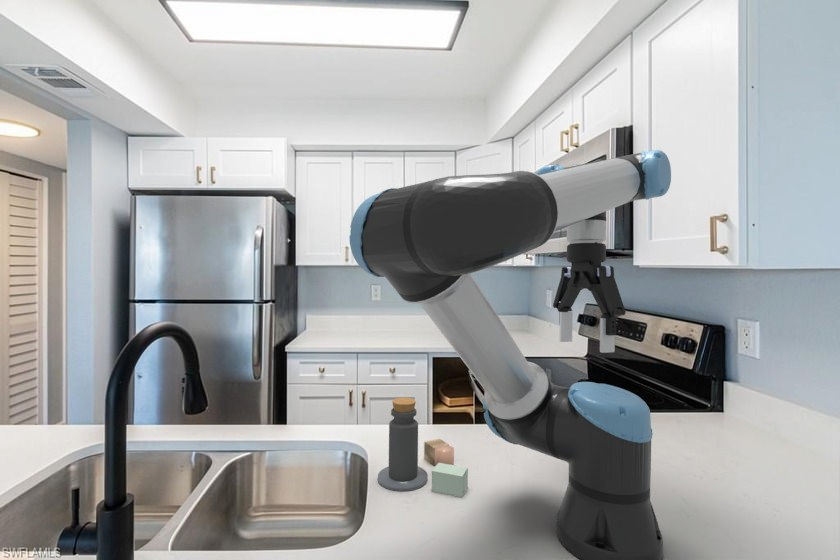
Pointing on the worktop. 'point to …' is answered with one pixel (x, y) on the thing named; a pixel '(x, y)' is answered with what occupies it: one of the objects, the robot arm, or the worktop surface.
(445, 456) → the salmon pink block
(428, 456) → the oak block
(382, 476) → the coaster
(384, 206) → the robot arm
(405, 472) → the bottle
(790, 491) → the worktop surface
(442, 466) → the sage block
